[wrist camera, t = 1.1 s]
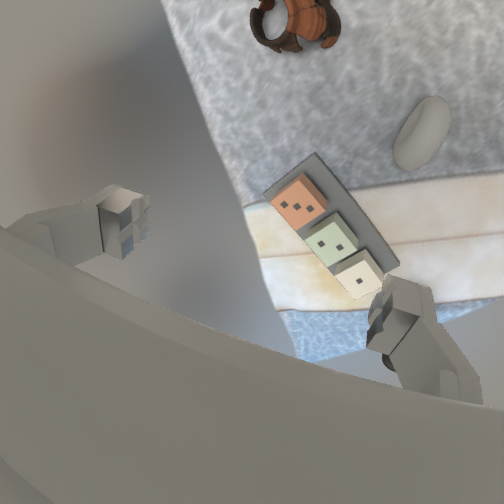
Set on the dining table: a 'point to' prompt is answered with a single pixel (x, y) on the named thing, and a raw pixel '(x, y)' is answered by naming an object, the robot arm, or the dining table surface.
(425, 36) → the dining table surface
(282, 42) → the brown rounded piece
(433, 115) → the donut
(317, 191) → the terracotta tile
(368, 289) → the cream tile
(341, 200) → the board
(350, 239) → the sage tile
